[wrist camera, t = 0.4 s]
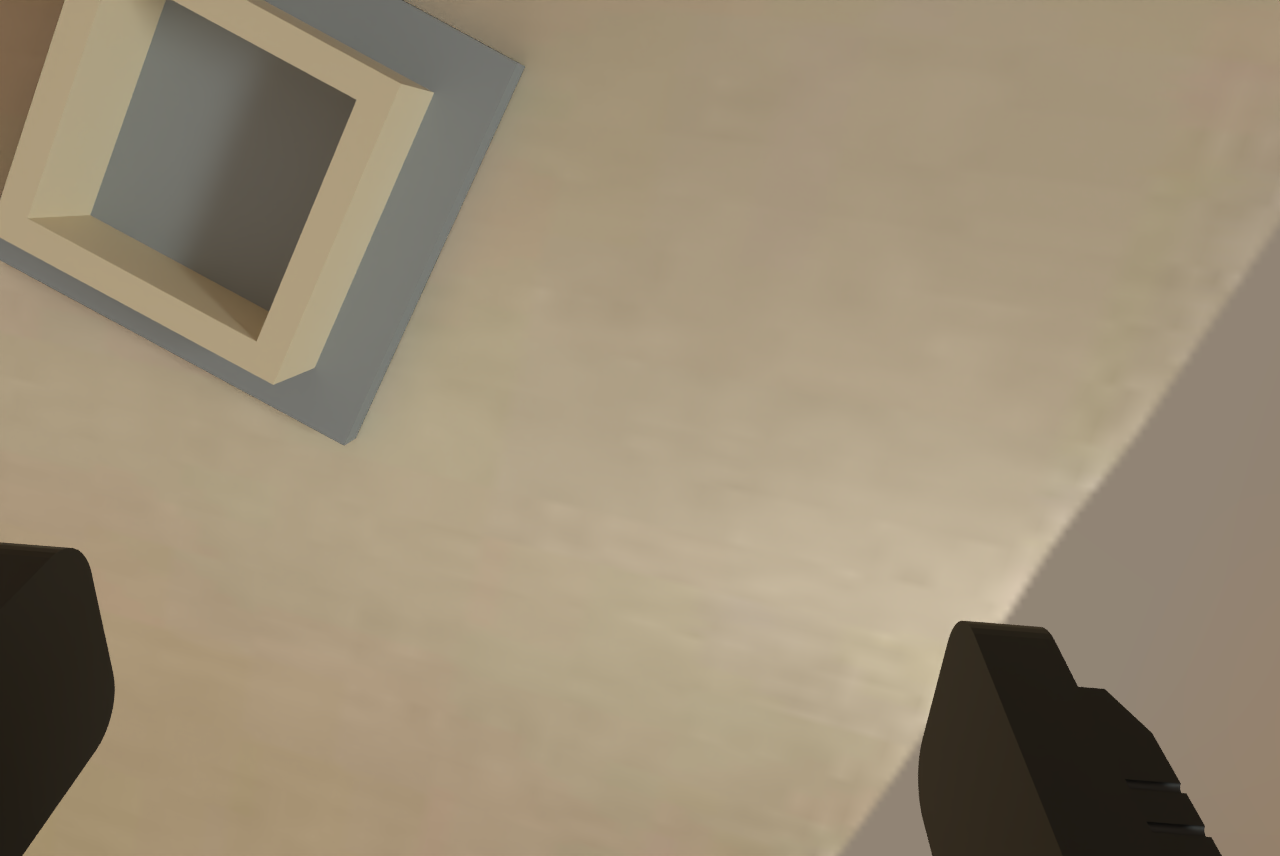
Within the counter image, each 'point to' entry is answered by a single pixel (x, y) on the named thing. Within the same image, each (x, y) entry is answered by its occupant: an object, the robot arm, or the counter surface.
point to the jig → (254, 181)
